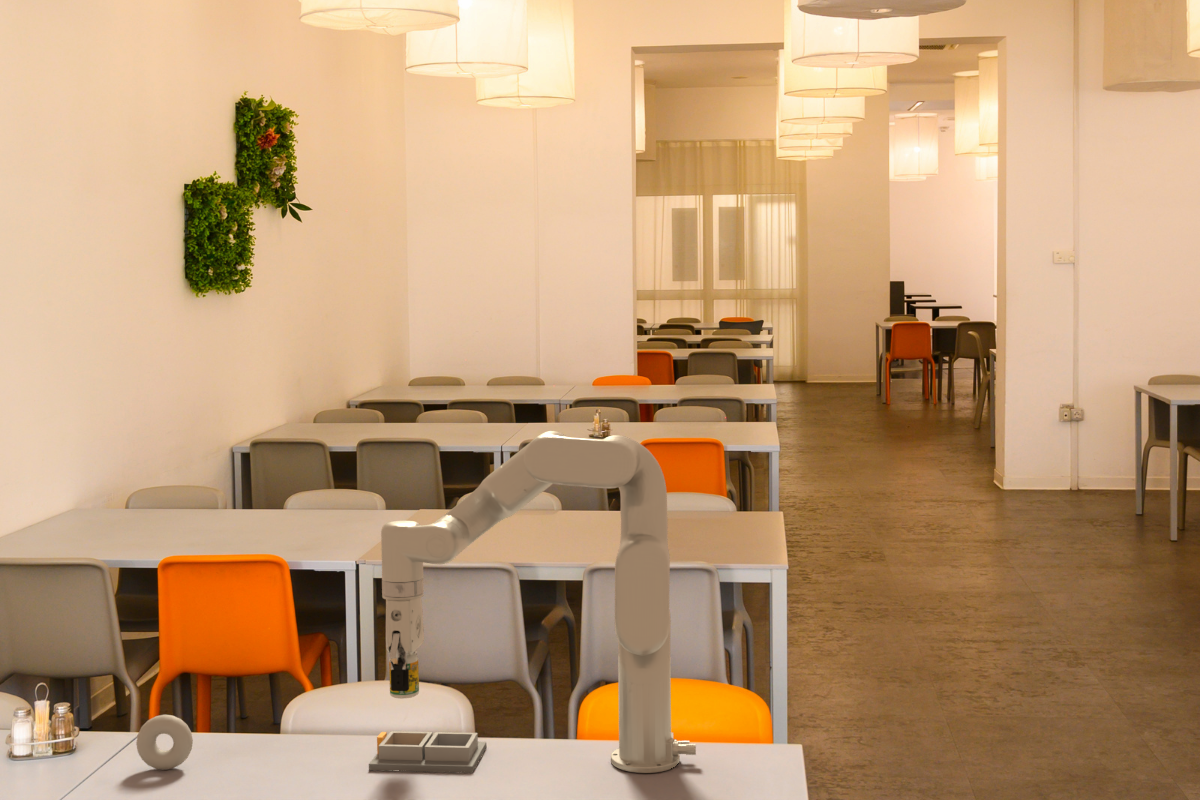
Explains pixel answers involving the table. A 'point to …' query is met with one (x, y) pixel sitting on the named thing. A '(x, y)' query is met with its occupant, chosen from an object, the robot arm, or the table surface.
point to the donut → (160, 757)
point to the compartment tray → (427, 751)
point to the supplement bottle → (413, 677)
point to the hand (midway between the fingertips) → (404, 684)
